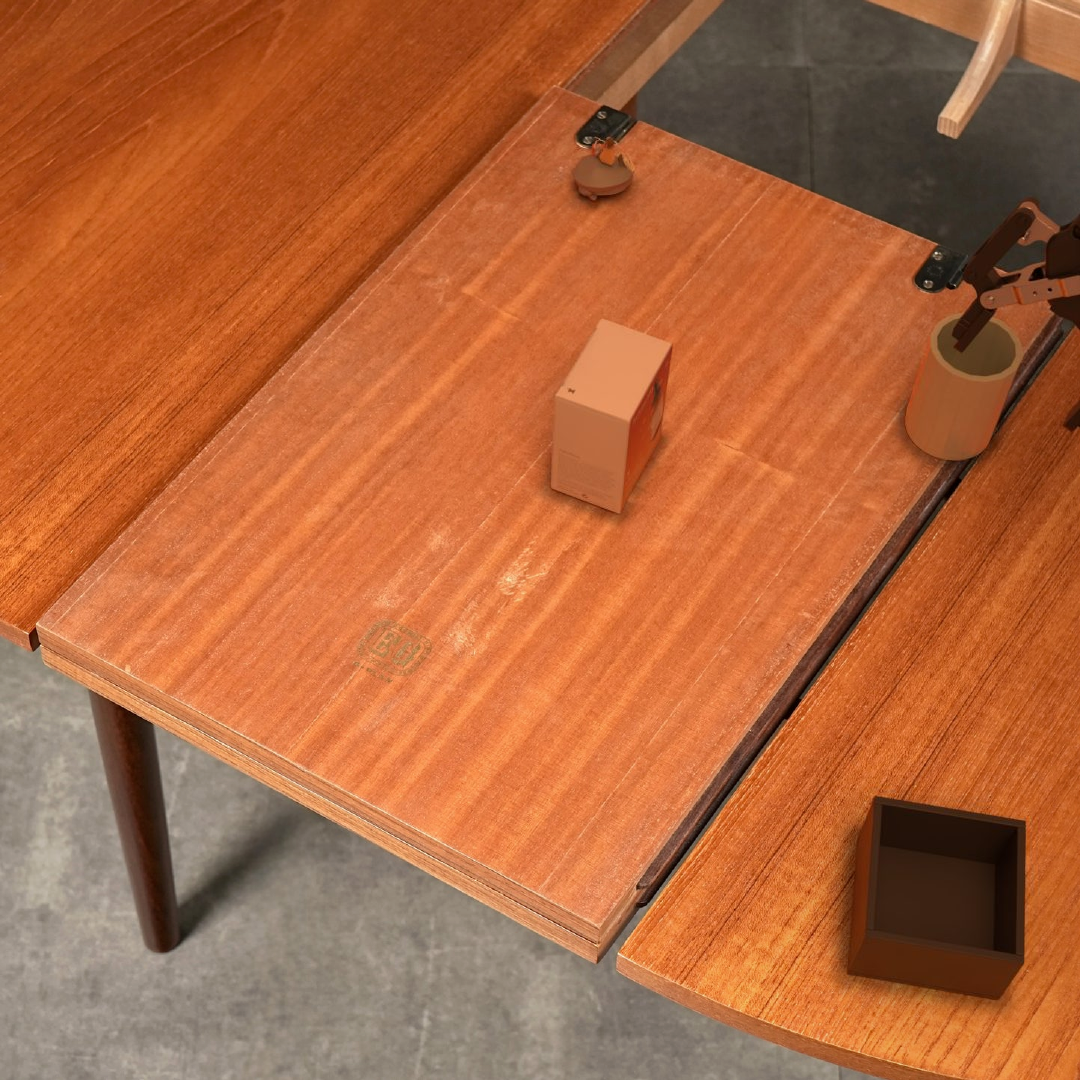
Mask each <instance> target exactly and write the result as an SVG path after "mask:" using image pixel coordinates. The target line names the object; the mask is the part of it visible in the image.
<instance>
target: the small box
mask: <svg viewBox="0 0 1080 1080" xmlns="http://www.w3.org/2000/svg"><path fill="white" fill-rule="evenodd" d="M673 347H674V344H673V343H672V342H669V341H666V340H664V339H661V338H659V337H656V336H652V335H650V334H647V333H644V332H641V331H639V330H636V329H634V328H630V327H628V326H624V325H622V324H620V323H616V322H613V321H611V320H608V319H605V318H599V319H598V322H597V324H596V325H595V327H594V329H593V331H592V333H591V335H590V336H589V339H588V340H587V342H586V344H585V346H584V347H583V349H582V350H581V352H580V354H579V356H578V357H577V359H576V361H575V363H574V364H573V366H572V367H571V369H570V371H569V373H568V374H567V376H566V377H565V379H564V380H563V382H562V384H561V385H560V386H559V388H558V389H557V391H556V392H555V394H554V400H553V401H554V404H553V423H552V424H553V426H552V441H551V442H552V443H551V466H550V470H551V471H550V472H551V473H550V488H551V489H552V490H555V491H556V492H560V493H562V494H564V495H568V496H570V497H572V498H576V499H577V500H581V501H584V502H586V503H589V504H591V505H595V506H597V507H600V508H603V509H605V510H607V511H610V512H613V513H615V514H618V515H620V514H621V513H622V512H623V510H624V508H625V506H626V503H627V502H628V500H629V497H630V496H631V494H632V492H633V490H634V488H635V487H636V485H637V482H638V480H639V479H640V477H641V475H642V473H643V471H644V470H645V468H646V466H647V464H648V463H649V460H650V459H651V456H652V454H653V453H654V452H655V450H656V447H657V445H658V444H659V442H660V441H661V437H662V427H663V419H664V414H665V406H666V399H667V391H668V385H669V377H670V369H671V363H672V362H671V361H672V356H673V355H672V354H673V349H674V348H673Z"/></svg>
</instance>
